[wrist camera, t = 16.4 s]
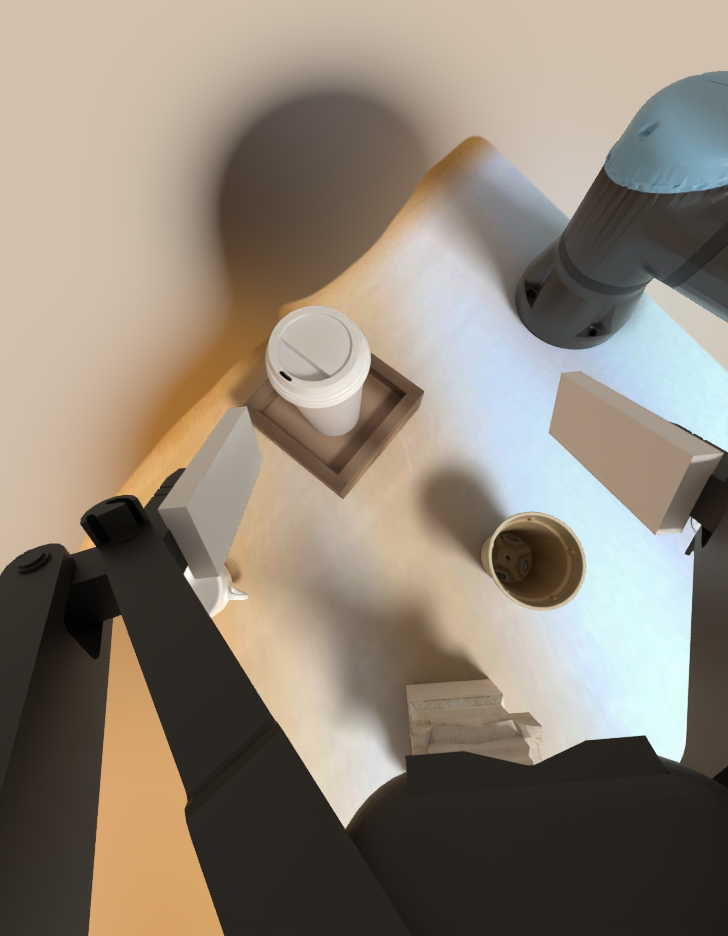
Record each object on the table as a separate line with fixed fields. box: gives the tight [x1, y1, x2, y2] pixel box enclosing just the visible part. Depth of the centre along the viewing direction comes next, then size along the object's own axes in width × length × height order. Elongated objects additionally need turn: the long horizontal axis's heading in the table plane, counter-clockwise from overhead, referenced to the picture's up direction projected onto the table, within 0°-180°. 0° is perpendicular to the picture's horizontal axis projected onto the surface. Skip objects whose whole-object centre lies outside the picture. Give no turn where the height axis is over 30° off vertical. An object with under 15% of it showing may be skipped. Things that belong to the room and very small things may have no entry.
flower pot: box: [481, 512, 586, 611], centre depth 39 cm, size 9×9×9 cm
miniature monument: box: [406, 679, 543, 765], centre depth 25 cm, size 10×10×30 cm
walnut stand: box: [243, 353, 424, 499], centre depth 45 cm, size 16×16×5 cm
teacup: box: [184, 565, 249, 618], centre depth 41 cm, size 10×8×5 cm
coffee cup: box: [265, 306, 371, 436], centre depth 37 cm, size 10×10×15 cm
